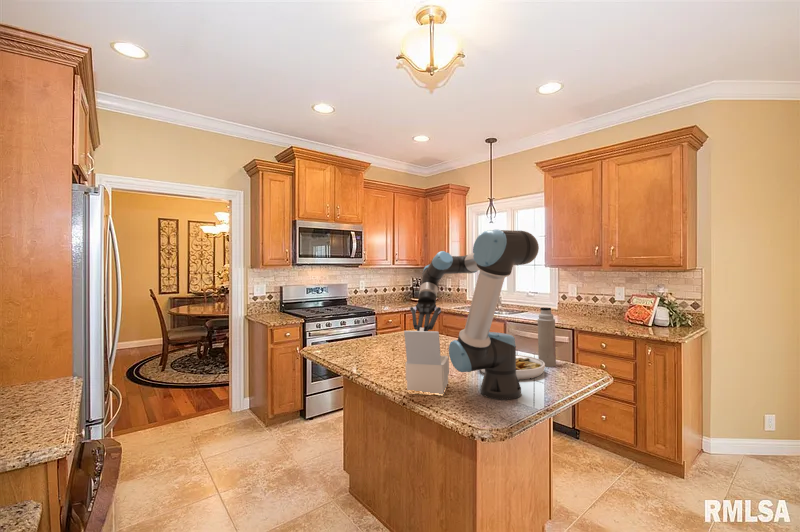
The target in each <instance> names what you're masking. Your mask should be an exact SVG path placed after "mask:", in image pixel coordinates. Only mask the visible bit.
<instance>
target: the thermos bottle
mask: <svg viewBox="0 0 800 532" xmlns="http://www.w3.org/2000/svg"><path fill="white" fill-rule="evenodd" d="M554 316H555V315H554V314H553V313H552V308H551V307H540V313H539V314H538V318H537V344H538V345H537V346H538V352H537V353H538V354H537V355H538V358H537V359H540V360H542V361H543V362H544V363H545V368H553V367H552V366H555V367H556V366H557V352H556V351H557V350H556V349H557V348H556V319H555V318H554Z"/></svg>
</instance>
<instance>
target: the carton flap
mask: <svg viewBox="0 0 800 532" xmlns="http://www.w3.org/2000/svg"><path fill="white" fill-rule="evenodd" d="M403 331H404V332H403V333H404V334H403V335H404V343H405V354H406V362H407V363H408V364H428V365H441V356H442V355H441V343H440V342H441V341H440V332H439V331H432V330H428V331H417V330H403Z"/></svg>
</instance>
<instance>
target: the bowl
mask: <svg viewBox="0 0 800 532" xmlns="http://www.w3.org/2000/svg"><path fill="white" fill-rule="evenodd" d="M545 369H546V367H545V363H544V362H543V361H542V360H540V359H538V358H536V357H532V356H530V355H529V356H528V355H522V354H516V375H517V378H518V381H519V380H531V379H533V378H537V377H539V376H541V375H542V374H543V372H544V371H545ZM480 371H481V373H483V374H485V369H482V370H480ZM530 378H531V379H530Z"/></svg>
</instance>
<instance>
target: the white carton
mask: <svg viewBox="0 0 800 532" xmlns="http://www.w3.org/2000/svg"><path fill="white" fill-rule="evenodd" d="M440 356H441V365H428V364H408V363H407V361H406V362H405V367H404V368H405V381H406V391H407V390H415V391H422V392H430V393H439V394H443V393H444V390H445V388H446V386H447V384H448V385H449V374H450V356H448V355H440ZM444 394H445V393H444Z"/></svg>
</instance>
